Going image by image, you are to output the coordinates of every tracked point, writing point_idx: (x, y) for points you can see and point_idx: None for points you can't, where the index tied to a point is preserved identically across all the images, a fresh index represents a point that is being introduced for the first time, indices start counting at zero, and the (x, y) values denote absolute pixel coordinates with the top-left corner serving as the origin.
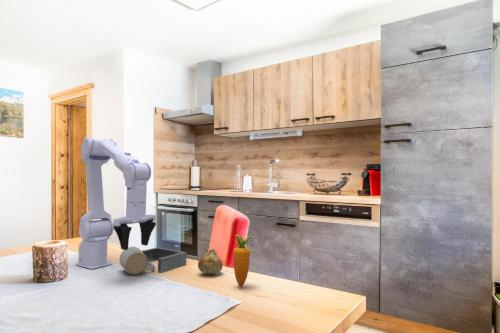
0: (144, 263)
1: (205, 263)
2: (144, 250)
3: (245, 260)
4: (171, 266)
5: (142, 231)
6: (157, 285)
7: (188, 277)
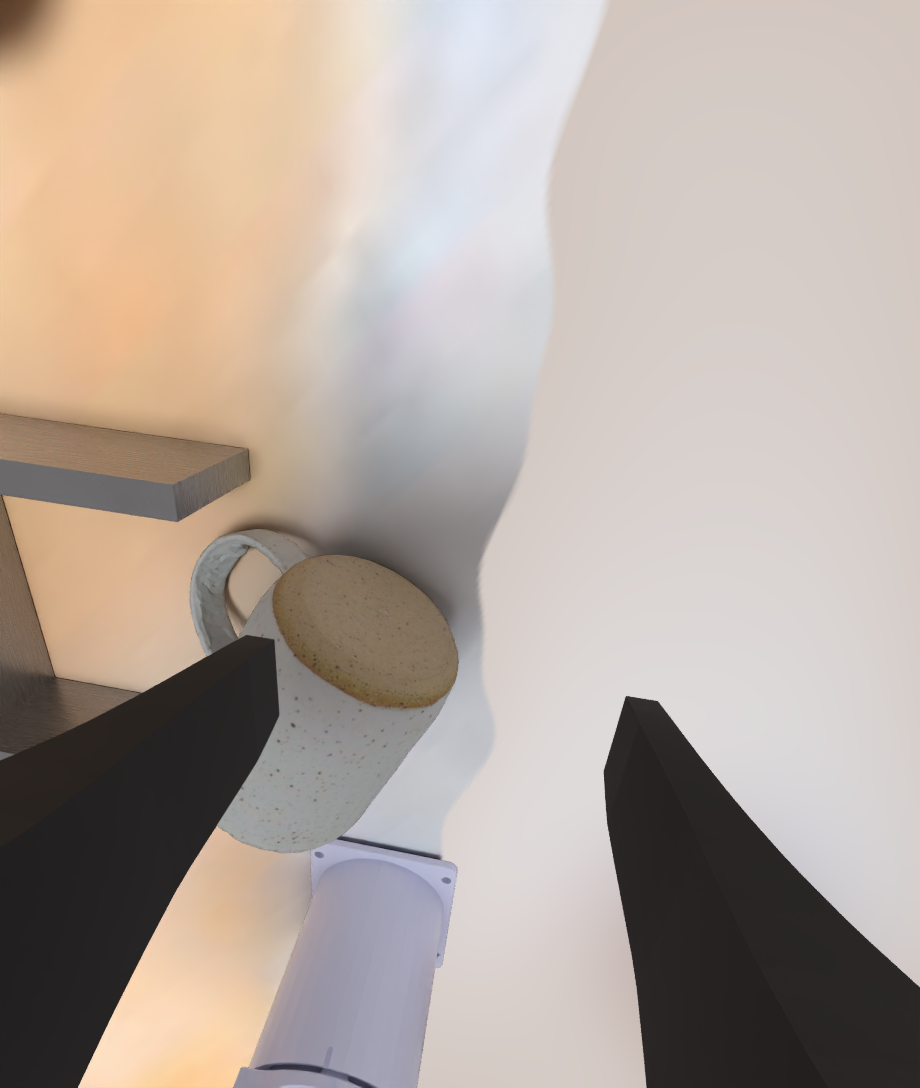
0: (320, 577)
1: None
2: None
3: None
4: (104, 437)
5: (138, 915)
6: (528, 210)
7: (171, 84)
